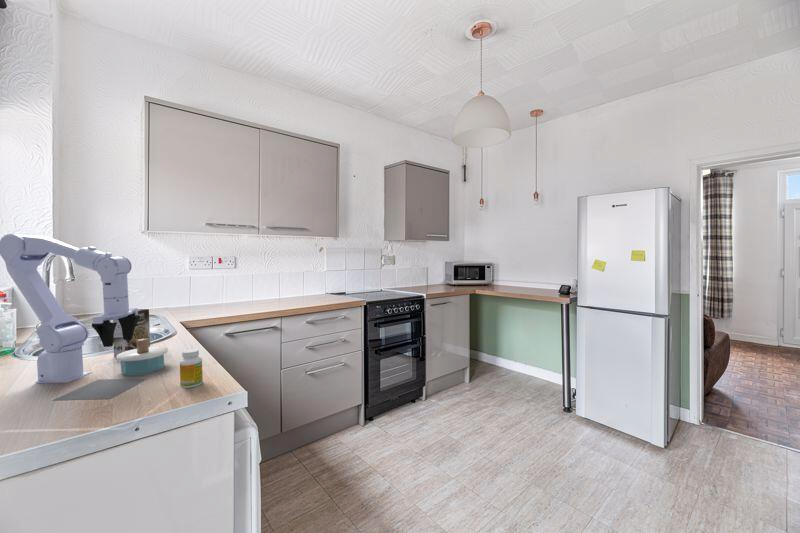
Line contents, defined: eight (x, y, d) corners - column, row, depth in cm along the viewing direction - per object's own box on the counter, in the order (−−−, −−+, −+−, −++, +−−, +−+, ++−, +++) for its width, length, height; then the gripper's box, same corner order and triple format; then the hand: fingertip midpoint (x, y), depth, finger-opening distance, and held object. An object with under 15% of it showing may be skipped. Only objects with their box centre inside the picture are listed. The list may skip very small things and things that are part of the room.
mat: (52, 401, 87) (52, 400, 87) (98, 380, 101) (98, 379, 101) (109, 400, 88) (109, 398, 88) (147, 379, 102) (147, 378, 102)
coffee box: (128, 358, 122) (126, 313, 121) (113, 357, 123) (111, 312, 123) (151, 351, 131) (149, 308, 130) (137, 350, 132) (135, 308, 132)
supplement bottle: (198, 387, 96) (197, 352, 95) (176, 389, 95) (175, 354, 94) (205, 380, 101) (204, 347, 100) (185, 381, 100) (184, 348, 99)
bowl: (112, 376, 104) (111, 360, 104) (138, 365, 115) (137, 350, 115) (149, 376, 105) (148, 359, 104) (171, 364, 115) (171, 349, 115)
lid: (105, 361, 103) (104, 345, 103) (136, 349, 116) (136, 334, 116) (150, 360, 103) (149, 344, 103) (176, 348, 116) (176, 334, 116)
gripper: (110, 300, 96) (113, 349, 96) (146, 294, 110) (148, 336, 111) (84, 301, 95) (86, 350, 96) (123, 294, 110) (126, 337, 110)
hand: (118, 342), depth 103 cm, fingers open, 7 cm apart
